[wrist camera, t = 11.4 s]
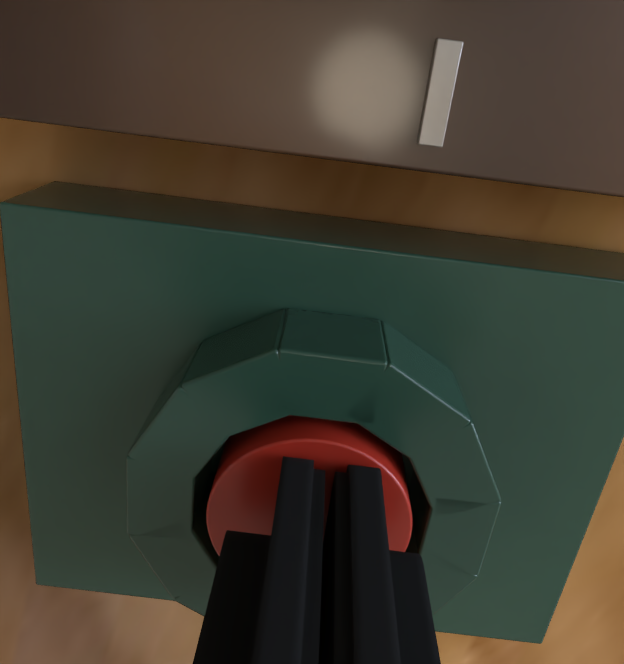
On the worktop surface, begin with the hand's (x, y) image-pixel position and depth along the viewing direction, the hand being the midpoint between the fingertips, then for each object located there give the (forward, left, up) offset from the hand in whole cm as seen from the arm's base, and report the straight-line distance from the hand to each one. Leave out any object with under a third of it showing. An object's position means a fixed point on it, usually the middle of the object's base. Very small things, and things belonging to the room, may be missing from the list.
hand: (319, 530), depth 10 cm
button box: (0, 0, -4) cm, 4 cm away
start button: (0, 0, -2) cm, 2 cm away
